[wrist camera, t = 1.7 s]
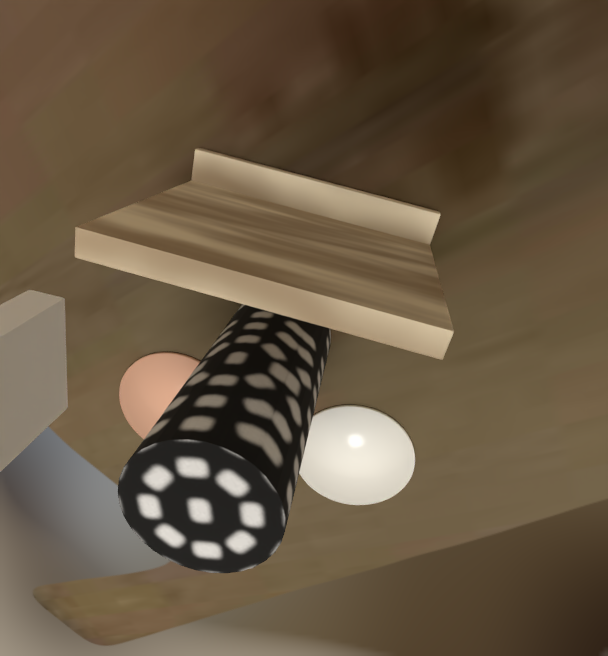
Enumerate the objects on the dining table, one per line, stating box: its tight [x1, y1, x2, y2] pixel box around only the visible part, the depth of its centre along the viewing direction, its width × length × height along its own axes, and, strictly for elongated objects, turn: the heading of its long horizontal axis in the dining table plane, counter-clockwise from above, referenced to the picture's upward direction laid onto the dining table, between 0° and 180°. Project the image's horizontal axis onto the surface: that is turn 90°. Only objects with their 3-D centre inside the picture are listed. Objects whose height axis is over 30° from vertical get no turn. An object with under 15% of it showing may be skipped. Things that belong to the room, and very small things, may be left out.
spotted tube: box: [118, 304, 331, 573], centre depth 33 cm, size 8×8×20 cm
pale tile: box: [299, 405, 415, 505], centre depth 46 cm, size 11×11×1 cm
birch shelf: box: [75, 148, 454, 360], centre depth 30 cm, size 6×18×16 cm, turn 77°
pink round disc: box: [119, 352, 201, 439], centre depth 46 cm, size 11×11×1 cm
